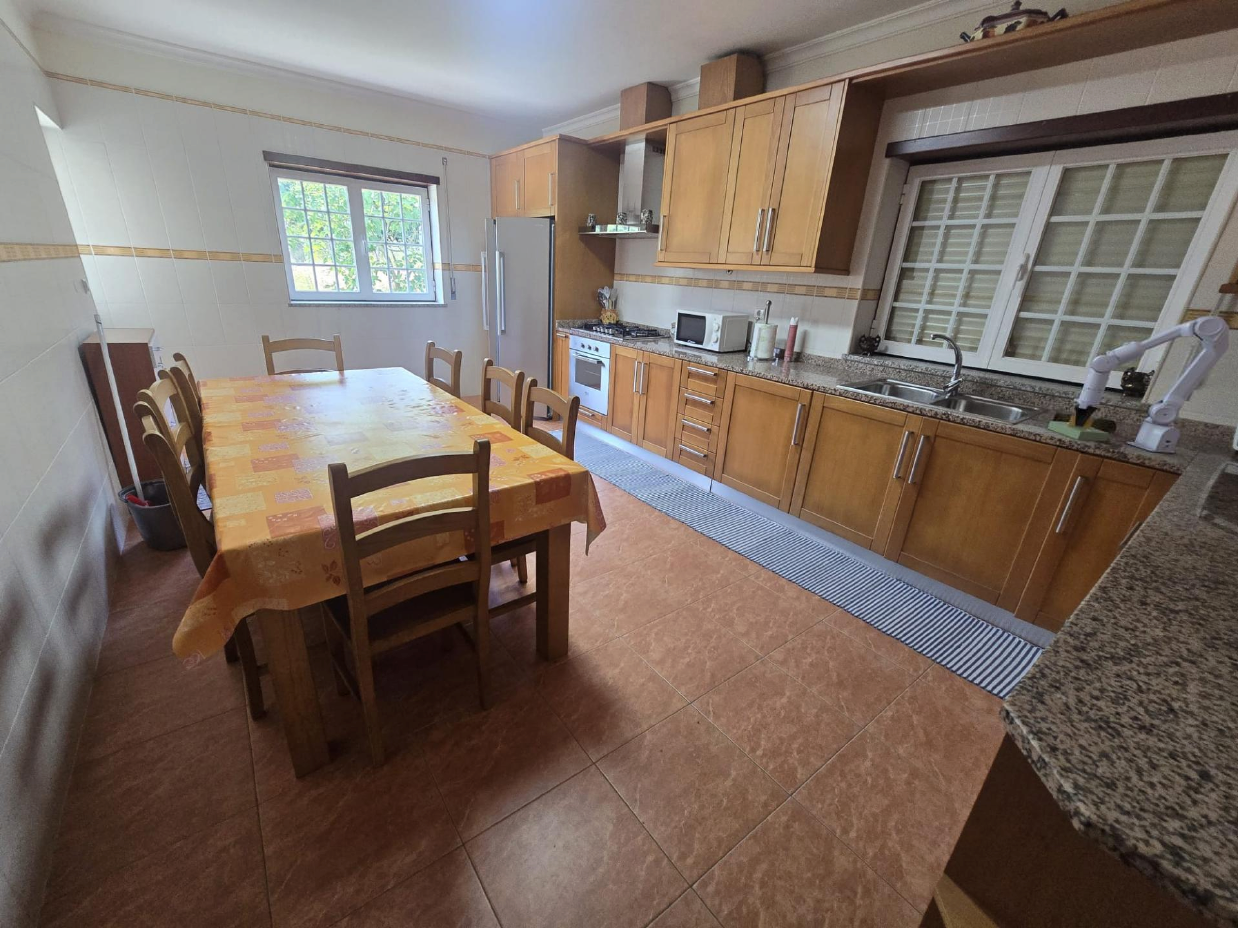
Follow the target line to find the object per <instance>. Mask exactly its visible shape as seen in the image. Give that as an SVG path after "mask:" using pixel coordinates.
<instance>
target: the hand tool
mask: <svg viewBox="0 0 1238 928" xmlns="http://www.w3.org/2000/svg"><path fill="white" fill-rule="evenodd" d="M1072 415H1073V414H1070V413H1061V412H1059V411H1056V412H1055V413H1054V415H1053V417H1052V418H1053V419H1052V421H1057V422H1069V421H1070V418H1071V416H1072ZM1089 419H1093V422H1092V424H1091V427H1093V428H1094V429H1097V430H1100V431H1103V432H1112V433H1115V432H1116V431H1117V427H1118V426H1117V423H1116V421H1115V420H1113V419H1108V418H1104V417H1103V418H1101V417H1097V418H1092V417H1091V418H1090V417H1089Z"/></svg>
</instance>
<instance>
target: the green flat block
mask: <svg viewBox="0 0 1238 928" xmlns="http://www.w3.org/2000/svg"><path fill="white" fill-rule="evenodd" d="M1068 424H1069V422H1062V421H1053V420H1050V421H1049V423H1048V425H1047V430H1051V431H1053V432H1055V433H1058V434H1061V435H1063V436H1067V437H1070V438H1072V439H1075V440H1079V441H1081V440H1082V441H1095V442H1107V439H1108V437H1109V435H1110V433H1109V432H1107V431H1102V430H1097V429H1094V428H1093V427H1090V429H1085V428H1080V427H1075V426H1070V425H1068Z"/></svg>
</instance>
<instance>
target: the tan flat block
mask: <svg viewBox="0 0 1238 928" xmlns="http://www.w3.org/2000/svg"><path fill="white" fill-rule="evenodd" d="M1071 415H1072V416H1071V418H1070V421H1069V424H1068V425H1070V426H1075V418H1076V414H1075V415H1074V414H1071ZM1093 419H1094V418H1091V419H1087V420H1086V422H1085V424H1084V425H1083V426H1082V427H1080V426H1075V427H1080V428H1085V429H1090V427H1091V424H1092V422H1093Z"/></svg>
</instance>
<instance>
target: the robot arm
mask: <svg viewBox="0 0 1238 928" xmlns="http://www.w3.org/2000/svg"><path fill="white" fill-rule="evenodd" d="M1229 331H1230V327H1229V325H1228V323H1227V322H1226V321H1225V319H1224V318H1222V317H1220V316H1216V315H1203V316H1200V317H1198V318H1196V319H1193V320H1188V321H1186V322H1183V323H1180V324H1178V325H1174V326H1173V327H1171V328H1168V329H1166V330H1164V331H1161V332H1160V333H1158V334H1156V335H1153V336H1151V337H1149V338H1147V339H1145V340H1143V341H1141V342H1140V341H1131V342H1128V341H1127V342H1125V343H1124V342H1123V345H1122V346H1120V347H1118V348H1115V349H1112V350H1111V351H1110V350H1107V351H1106V352H1105V354H1101V355H1098V356H1096V357H1094V359H1093V360H1092V361H1091V368H1090V369H1089V374H1088V375H1087V377H1086V379H1085V381H1084V384H1083V387H1082V389H1081V392H1080V395H1079V397H1078V398H1074V399H1073V402H1077V403H1078V405H1076V404H1075V405H1074V411H1075V415H1076V418H1075V426H1080V427H1082V426H1083V425H1084V424H1085V422H1086V420H1087V419H1089V418H1090V417H1091V416H1092V415H1093V414H1094V413H1095V412H1096V411H1097V410H1098V409H1099V407H1096V406H1100V405H1101V399H1102V397H1103V395H1104V393H1105V389H1106V387H1107V384H1108V382H1109V379H1110V375H1111V372H1112V371H1113V370H1114V369H1115V368H1116V367H1117V366H1118V367H1119V366H1122V365H1125V364H1127V363H1130V362H1132V361H1135V360H1136V359H1140V358H1141V357H1143V356H1144V355H1145V354H1146V351H1148V350H1150V349H1153V348H1155V347H1158V346H1160V345H1163V344H1166V343H1168V342H1170V341H1173V340H1176V339H1178V338H1189V337H1192V338H1193V337H1194V336H1195V337H1196V338H1198V340H1199V342H1200V345H1201V346H1202V350H1201V351H1200V352H1199V354H1198V355H1197V356H1196V358H1194V360H1193V361H1192V362H1191V364H1189V366H1188V367H1187V369H1186V370H1184V372H1183V373H1182V375H1181V376H1180V377H1179V378H1178V379H1177V381H1176V382H1175V383H1174V384H1173V385H1172V387H1171V388H1170V389H1169V390H1168V392H1167V393H1165V394H1164V395H1163V396H1162V397H1161V398H1160V399H1159V400H1158V401H1157V402H1155V403H1153V404H1151V405H1150V406H1149V407H1148V410H1147V414H1148V417H1146V418H1144V419H1143V422H1142V424H1141V426H1140V428H1139V431H1138V433H1137V435H1136V438H1135V440H1134V441H1126V444H1127V445H1131V446H1133V447H1136V448H1140V449H1143V450H1146V451H1148V452H1155V453H1170V454H1175V450H1174V449H1175V447H1176V445H1177V443H1178V441H1179V439H1180V436H1181V431H1180V429H1178V428H1176V427H1175V426H1174V425H1175V423H1174V422H1175V421H1177V419H1178V418H1179V416H1180V410H1181V409H1182V408H1183V407H1184V405H1185V402H1186V401H1187V399H1188V397H1189V396H1190V395H1191V394H1192V393H1193V392H1194V390H1196V388H1197V387H1198V386H1199V385H1200V383H1201V382H1202V381H1203V380H1204V378H1205V377H1206V376H1207V375H1208V374H1209V373H1210V371H1212V369H1214V367H1215V366H1216V364H1217V363H1218V362H1219V361H1220V359H1221V358H1222V357H1223V356H1224V355H1225V353H1227V351H1228V350H1229V348H1230V338H1229Z"/></svg>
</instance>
